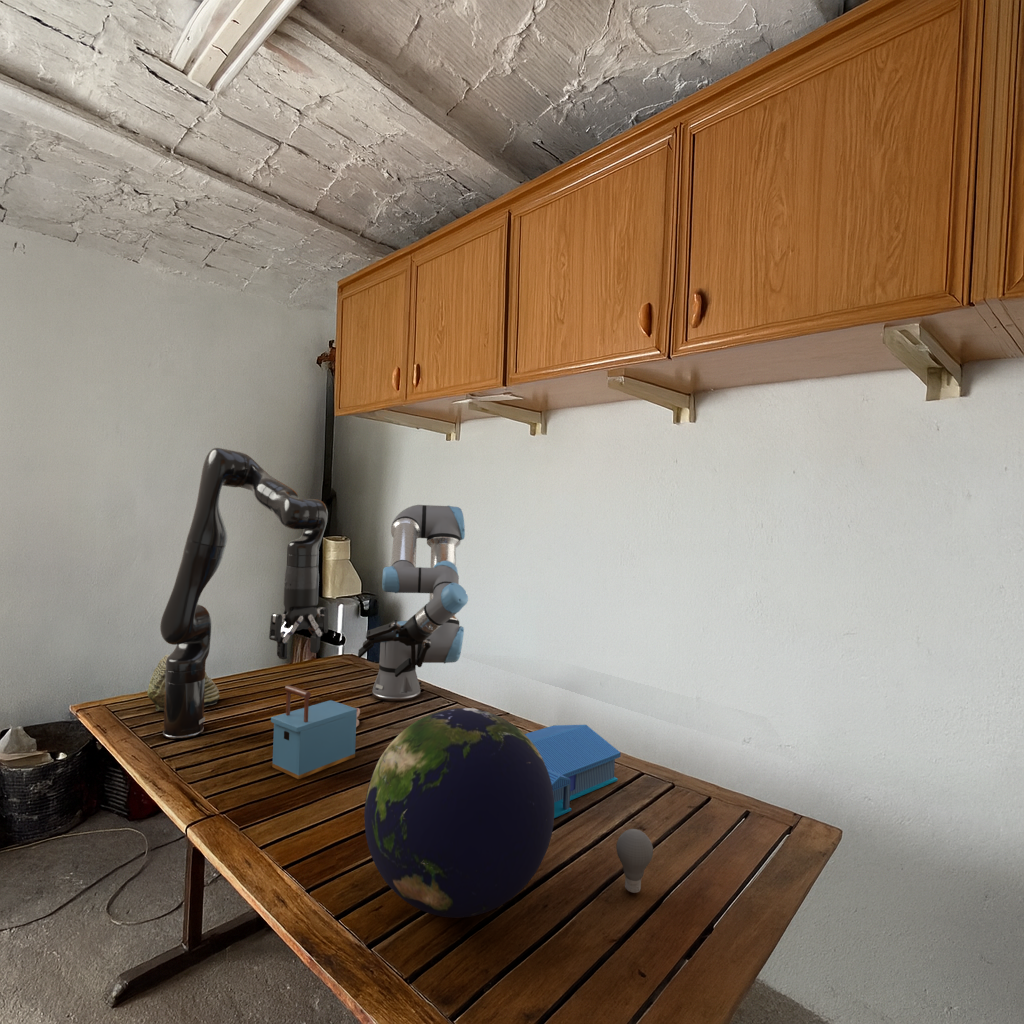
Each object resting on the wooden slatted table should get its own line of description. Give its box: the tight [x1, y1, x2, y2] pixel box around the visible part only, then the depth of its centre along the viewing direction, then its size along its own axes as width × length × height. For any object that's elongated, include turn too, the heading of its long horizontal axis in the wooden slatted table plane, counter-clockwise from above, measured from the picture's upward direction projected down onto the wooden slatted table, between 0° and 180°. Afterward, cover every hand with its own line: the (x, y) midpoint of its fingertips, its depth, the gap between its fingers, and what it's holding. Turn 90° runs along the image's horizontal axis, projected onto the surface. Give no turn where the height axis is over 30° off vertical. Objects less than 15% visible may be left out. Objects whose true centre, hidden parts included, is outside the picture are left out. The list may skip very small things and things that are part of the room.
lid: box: [270, 684, 357, 732], centre depth 150 cm, size 17×10×8 cm, turn 145°
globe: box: [363, 707, 555, 919], centre depth 101 cm, size 30×30×30 cm
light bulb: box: [615, 828, 654, 894], centre depth 106 cm, size 6×6×10 cm
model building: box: [524, 724, 622, 819], centre depth 141 cm, size 39×24×10 cm, turn 132°
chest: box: [271, 714, 358, 780], centre depth 151 cm, size 16×10×11 cm, turn 145°
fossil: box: [147, 654, 221, 712], centre depth 185 cm, size 9×18×15 cm, turn 132°
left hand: (298, 655), depth 146 cm, fingers open, 8 cm apart
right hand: (377, 663), depth 189 cm, fingers open, 13 cm apart
